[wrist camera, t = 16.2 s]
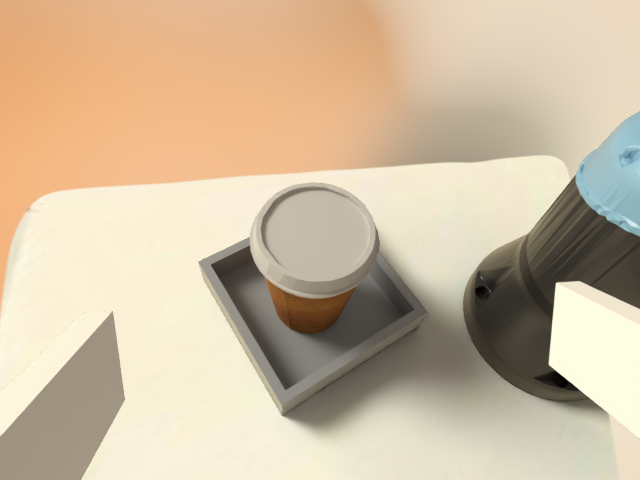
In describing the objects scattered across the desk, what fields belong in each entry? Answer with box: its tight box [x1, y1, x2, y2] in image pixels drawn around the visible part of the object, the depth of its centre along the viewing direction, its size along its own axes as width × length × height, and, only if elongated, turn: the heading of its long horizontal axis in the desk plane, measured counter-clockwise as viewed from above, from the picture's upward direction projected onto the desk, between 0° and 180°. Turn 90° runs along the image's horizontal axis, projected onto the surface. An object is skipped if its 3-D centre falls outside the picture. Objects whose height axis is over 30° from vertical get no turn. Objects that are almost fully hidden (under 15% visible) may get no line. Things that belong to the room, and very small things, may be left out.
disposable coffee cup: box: [250, 183, 380, 334], centre depth 38 cm, size 10×10×12 cm
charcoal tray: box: [199, 237, 427, 415], centre depth 42 cm, size 15×15×4 cm
